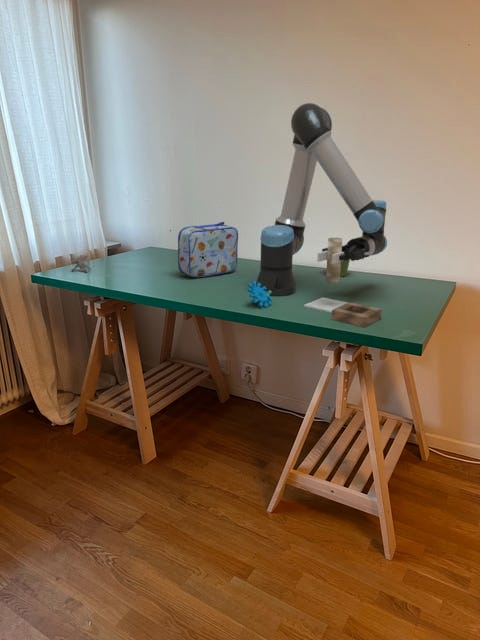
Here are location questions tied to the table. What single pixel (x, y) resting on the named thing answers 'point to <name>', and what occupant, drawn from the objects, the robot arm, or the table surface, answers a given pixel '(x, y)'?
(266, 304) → the gear
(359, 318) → the pocket block
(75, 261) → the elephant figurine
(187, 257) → the lunch box
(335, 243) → the dowel
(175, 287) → the table surface
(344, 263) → the plant pot
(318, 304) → the pad
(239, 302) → the table surface
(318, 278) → the table surface
